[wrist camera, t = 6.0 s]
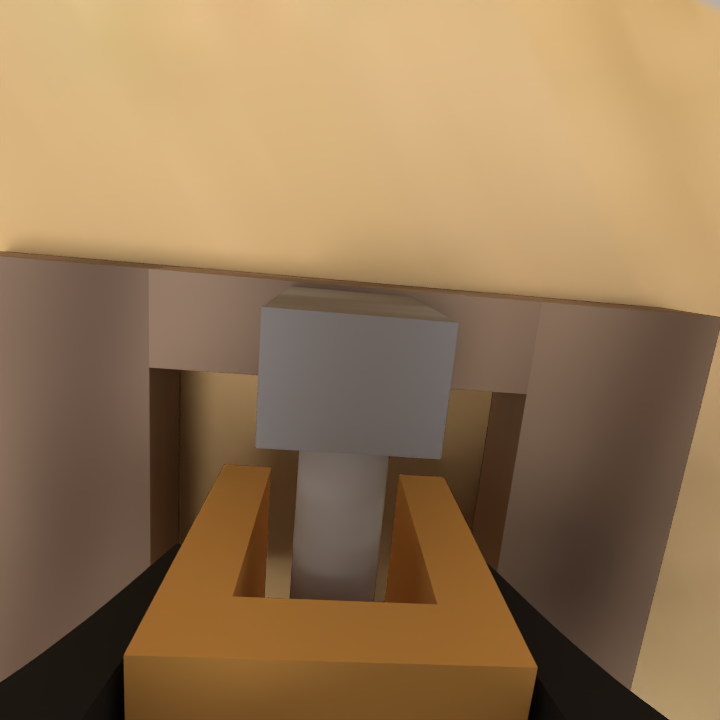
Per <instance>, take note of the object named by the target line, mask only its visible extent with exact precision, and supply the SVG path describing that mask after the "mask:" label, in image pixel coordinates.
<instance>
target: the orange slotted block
mask: <svg viewBox="0 0 720 720" xmlns="http://www.w3.org/2000/svg"><path fill="white" fill-rule="evenodd" d="M270 482H271V467H260V466H242V465H225V464H224V466H223V468H222V470H221V472H220V474H219V476H218V477H217V479H216V481H215V483H214V485H213V487H212V489H211V491H210V493H209V495H208V496H207V498H206V500H205V502H204V504H203V506H202V508H201V510H200V512H199V513H198V515H197V517H196V519H195V521H194V523H193V525H192V527H191V529H190V530H189V532H188V534H187V536H186V538H185V540H184V542H183V544H182V546H181V548H180V549H179V551H178V553H177V555H176V557H175V559H174V561H173V563H172V565H171V566H170V568H169V570H168V572H167V574H166V576H165V578H164V580H163V582H162V583H161V585H160V587H159V589H158V591H157V593H156V595H155V597H154V599H153V601H152V602H151V604H150V606H149V608H148V610H147V612H146V614H145V616H144V618H143V619H142V621H141V623H140V625H139V627H138V629H137V631H136V633H135V635H134V637H133V638H132V640H131V642H130V644H129V646H128V648H127V650H126V652H125V654H124V702H125V720H528V715H529V710H530V704H531V699H532V694H533V689H534V684H535V679H536V674H537V669H538V667H537V665H536V663H535V661H534V659H533V657H532V655H531V653H530V651H529V649H528V647H527V645H526V643H525V641H524V639H523V637H522V635H521V633H520V631H519V629H518V627H517V625H516V623H515V621H514V618H513V616H512V614H511V612H510V610H509V608H508V606H507V604H506V602H505V600H504V598H503V596H502V594H501V592H500V590H499V588H498V586H497V584H496V582H495V580H494V578H493V576H492V574H491V572H490V570H489V568H488V566H487V564H486V562H485V560H484V558H483V556H482V554H481V552H480V550H479V548H478V546H477V543H476V541H475V539H474V537H473V535H472V533H471V531H470V529H469V527H468V525H467V523H466V521H465V519H464V517H463V515H462V513H461V511H460V509H459V507H458V505H457V503H456V501H455V499H454V497H453V495H452V493H451V491H450V489H449V487H448V485H447V483H446V481H445V479H444V477H433V476H416V475H399V481H398V490H397V499H396V507H395V516H394V525H393V534H392V543H391V552H390V561H389V570H388V578H387V587H386V596H385V602H362V601H336V600H310V599H284V598H265V579H266V560H267V540H268V521H269V501H270Z"/></svg>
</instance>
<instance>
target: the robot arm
mask: <svg viewBox="0 0 720 720" xmlns="http://www.w3.org/2000/svg"><path fill="white" fill-rule="evenodd" d="M181 546H182V544H175V545H174V546H173V547H172V548H171V549H169V550H168V551H167V552H166V553H165V554H163V555H162V556H161V557H160V558H159V559H157V560H156V561H155V562H154V563H153V564H152V565H151V566H149V567H148V568H147V569H146V570H145V571H144V572H142V573H141V574H140V575H139V576H138V577H137V578H135V579H134V580H133V581H132V582H131V583H130V584H128V585H127V586H126V587H125V588H124V589H123V590H121V591H120V592H119V593H118V594H117V595H115V596H114V597H113V598H112V599H111V600H109V601H108V602H107V603H106V604H104V605H103V606H102V607H101V608H100V609H98V610H97V611H96V612H95V613H94V614H92V615H91V616H90V617H89V618H87V619H86V620H85V621H84V622H82V623H81V624H80V625H78V626H77V627H76V628H74V629H73V630H72V631H70V632H69V633H68V634H66V635H65V636H64V637H63V638H61V639H60V640H59V641H57V642H56V643H55V644H53V645H52V646H51V647H49V648H48V649H47V650H45V651H44V652H43V653H42V654H40V655H39V656H37V657H36V658H35V659H33V660H32V661H30V662H29V663H28V664H26V665H25V666H23V667H22V668H20V669H19V670H17V671H16V672H15V673H13V674H12V675H10V676H9V677H7V678H6V679H4V680H3V681H1V682H0V720H125V702H124V654H125V652H126V650H127V648H128V646H129V644H130V642H131V640H132V638H133V637H134V635H135V633H136V631H137V629H138V627H139V625H140V623H141V621H142V619H143V618H144V616H145V614H146V612H147V610H148V608H149V606H150V604H151V602H152V601H153V599H154V597H155V595H156V593H157V591H158V589H159V587H160V585H161V583H162V582H163V580H164V578H165V576H166V574H167V572H168V570H169V568H170V566H171V565H172V563H173V561H174V559H175V557H176V555H177V553H178V551H179V549H180V548H181ZM485 562H486V561H485ZM486 564H487V566H488V568H489V570H490V572H491V574H492V576H493V578H494V580H495V582H496V584H497V586H498V588H499V590H500V592H501V594H502V596H503V598H504V600H505V602H506V604H507V606H508V608H509V610H510V612H511V614H512V616H513V618H514V621H515V623H516V625H517V627H518V629H519V631H520V633H521V635H522V637H523V639H524V641H525V643H526V645H527V647H528V649H529V651H530V653H531V655H532V657H533V659H534V661H535V663H536V665H537V667H538V669H537V674H536V679H535V684H534V689H533V694H532V699H531V704H530V710H529V715H528V720H669V719H667V718H666V717H665V716H663V715H662V714H661V713H659V712H658V711H657V710H655V709H654V708H652V707H651V706H650V705H648V704H647V703H646V702H644V701H643V700H642V699H640V698H639V697H638V696H636V695H635V694H634V693H632V692H631V691H630V690H629V689H627V688H626V687H625V686H624V685H622V684H621V683H620V682H619V681H617V680H616V679H615V678H614V677H612V676H611V675H610V674H609V673H608V672H606V671H605V670H604V669H603V668H602V667H600V666H599V665H598V664H597V663H596V662H594V661H593V660H592V659H591V658H590V657H589V656H587V655H586V654H585V653H584V652H583V651H581V650H580V649H579V648H578V647H577V646H576V645H575V644H573V643H572V642H571V641H570V640H569V639H568V638H567V637H565V636H564V635H563V634H562V633H561V632H560V631H559V630H558V629H557V628H556V627H554V626H553V625H552V624H551V623H550V622H549V621H548V620H547V619H546V618H545V617H544V616H543V615H541V614H540V613H539V612H538V611H537V610H536V609H535V608H534V607H533V606H532V605H531V604H530V603H529V602H528V601H527V600H526V599H525V598H524V597H522V596H521V595H520V594H519V593H518V592H517V591H516V590H515V589H514V588H513V587H512V586H511V585H510V584H509V583H508V582H507V581H506V580H505V579H504V578H503V577H502V576H501V575H500V574H499V573H498V572H497V571H495V570H494V569H493V568H492V567H491V566H490V565H489V564H488V563H487V562H486Z"/></svg>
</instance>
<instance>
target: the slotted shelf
mask: <svg viewBox="0 0 720 720" xmlns="http://www.w3.org/2000/svg"><path fill="white" fill-rule="evenodd" d="M719 331H720V317H716V316H710V315H703V314H697V313H691V312H685V311H678V310H672V309H666V308H659V307H647V306H635V305H624V304H612V303H600V302H589V301H577V300H565V299H554V298H542V297H530V296H519V295H507V294H495V293H483V292H472V291H460V290H448V289H437V288H425V287H413V286H402V285H390V284H378V283H367V282H355V281H343V280H332V279H320V278H308V277H296V276H285V275H273V274H261V273H250V272H238V271H226V270H215V269H203V268H191V267H180V266H168V265H156V264H145V263H133V262H121V261H109V260H98V259H86V258H74V257H63V256H51V255H39V254H28V253H16V252H2V251H0V682H1V681H3V680H4V679H6V678H7V677H9V676H10V675H12V674H13V673H15V672H16V671H17V670H19V669H20V668H22V667H23V666H25V665H26V664H28V663H29V662H30V661H32V660H33V659H35V658H36V657H37V656H39V655H40V654H42V653H43V652H44V651H45V650H47V649H48V648H49V647H51V646H52V645H53V644H55V643H56V642H57V641H59V640H60V639H61V638H63V637H64V636H65V635H66V634H68V633H69V632H70V631H72V630H73V629H74V628H76V627H77V626H78V625H80V624H81V623H82V622H84V621H85V620H86V619H87V618H89V617H90V616H91V615H92V614H94V613H95V612H96V611H97V610H98V609H100V608H101V607H102V606H103V605H104V604H106V603H107V602H108V601H109V600H111V599H112V598H113V597H114V596H115V595H117V594H118V593H119V592H120V591H121V590H123V589H124V588H125V587H126V586H127V585H128V584H130V583H131V582H132V581H133V580H134V579H135V578H137V577H138V576H139V575H140V574H141V573H142V572H144V571H145V570H146V569H147V568H148V567H149V566H151V565H152V564H153V563H154V562H155V561H156V560H157V559H159V558H160V557H161V556H162V555H163V554H165V553H166V552H167V551H168V550H169V549H171V548H172V547H173V546H174V545H175V544H179V422H180V370H192V371H206V372H220V373H234V374H248V375H258V397H257V420H256V443H255V448H262V449H279V450H296V451H299V461H298V477H297V492H296V508H295V523H294V539H293V554H292V570H291V586H290V599H310V600H336V601H362V602H374V594H375V585H376V576H377V566H378V557H379V548H380V538H381V529H382V520H383V510H384V501H385V491H386V482H387V473H388V463H389V456H395V457H412V458H428V459H441V454H442V447H443V439H444V431H445V424H446V416H447V409H448V401H449V393H450V389H460V390H474V391H488V392H493V396H492V403H491V410H490V416H489V423H488V429H487V436H486V443H485V449H484V456H483V462H482V469H481V476H480V482H479V489H478V495H477V502H476V509H475V515H474V522H473V528H472V535H473V537H474V539H475V541H476V543H477V546H478V548H479V550H480V552H481V554H482V556H483V558H484V560H485V561H486V562H487V563H488V564H489V565H490V566H491V567H492V568H493V569H494V570H495V571H497V572H498V573H499V574H500V575H501V576H502V577H503V578H504V579H505V580H506V581H507V582H508V583H509V584H510V585H511V586H512V587H513V588H514V589H515V590H516V591H517V592H518V593H519V594H520V595H521V596H522V597H524V598H525V599H526V600H527V601H528V602H529V603H530V604H531V605H532V606H533V607H534V608H535V609H536V610H537V611H538V612H539V613H540V614H541V615H543V616H544V617H545V618H546V619H547V620H548V621H549V622H550V623H551V624H552V625H553V626H554V627H556V628H557V629H558V630H559V631H560V632H561V633H562V634H563V635H564V636H565V637H567V638H568V639H569V640H570V641H571V642H572V643H573V644H575V645H576V646H577V647H578V648H579V649H580V650H581V651H583V652H584V653H585V654H586V655H587V656H589V657H590V658H591V659H592V660H593V661H594V662H596V663H597V664H598V665H599V666H600V667H602V668H603V669H604V670H605V671H606V672H608V673H609V674H610V675H611V676H612V677H614V678H615V679H616V680H617V681H619V682H620V683H621V684H622V685H624V686H625V687H626V688H627V689H629V690H630V689H631V685H632V681H633V677H634V673H635V669H636V665H637V661H638V657H639V653H640V649H641V645H642V640H643V636H644V632H645V628H646V624H647V620H648V616H649V612H650V608H651V604H652V600H653V596H654V592H655V588H656V584H657V580H658V576H659V572H660V568H661V564H662V560H663V556H664V552H665V548H666V544H667V540H668V536H669V532H670V528H671V524H672V520H673V516H674V512H675V508H676V504H677V500H678V496H679V492H680V488H681V483H682V479H683V475H684V471H685V467H686V463H687V459H688V455H689V451H690V447H691V443H692V439H693V435H694V431H695V427H696V423H697V419H698V415H699V411H700V407H701V403H702V399H703V395H704V391H705V387H706V383H707V379H708V375H709V371H710V367H711V363H712V359H713V355H714V351H715V347H716V343H717V339H718V335H719Z"/></svg>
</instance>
